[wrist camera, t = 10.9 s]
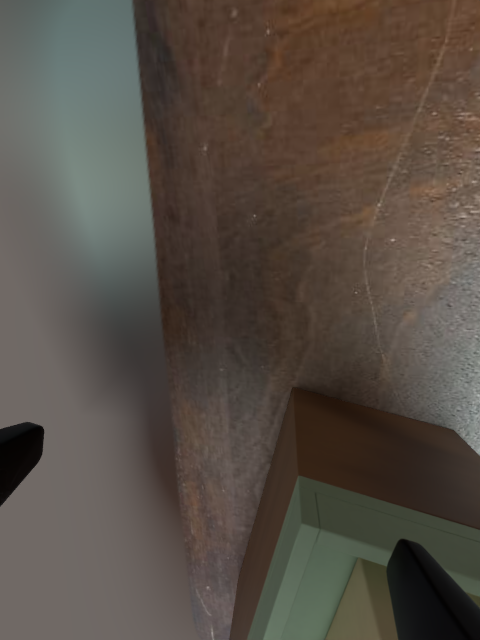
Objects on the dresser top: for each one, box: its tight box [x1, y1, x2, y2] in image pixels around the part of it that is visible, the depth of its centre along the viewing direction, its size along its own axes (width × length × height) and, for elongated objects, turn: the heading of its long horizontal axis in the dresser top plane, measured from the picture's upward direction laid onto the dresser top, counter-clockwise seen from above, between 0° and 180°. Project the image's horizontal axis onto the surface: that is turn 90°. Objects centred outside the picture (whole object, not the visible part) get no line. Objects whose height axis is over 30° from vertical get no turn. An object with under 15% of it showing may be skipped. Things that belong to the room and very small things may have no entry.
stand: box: [229, 387, 480, 640], centre depth 16 cm, size 10×17×8 cm, turn 168°
